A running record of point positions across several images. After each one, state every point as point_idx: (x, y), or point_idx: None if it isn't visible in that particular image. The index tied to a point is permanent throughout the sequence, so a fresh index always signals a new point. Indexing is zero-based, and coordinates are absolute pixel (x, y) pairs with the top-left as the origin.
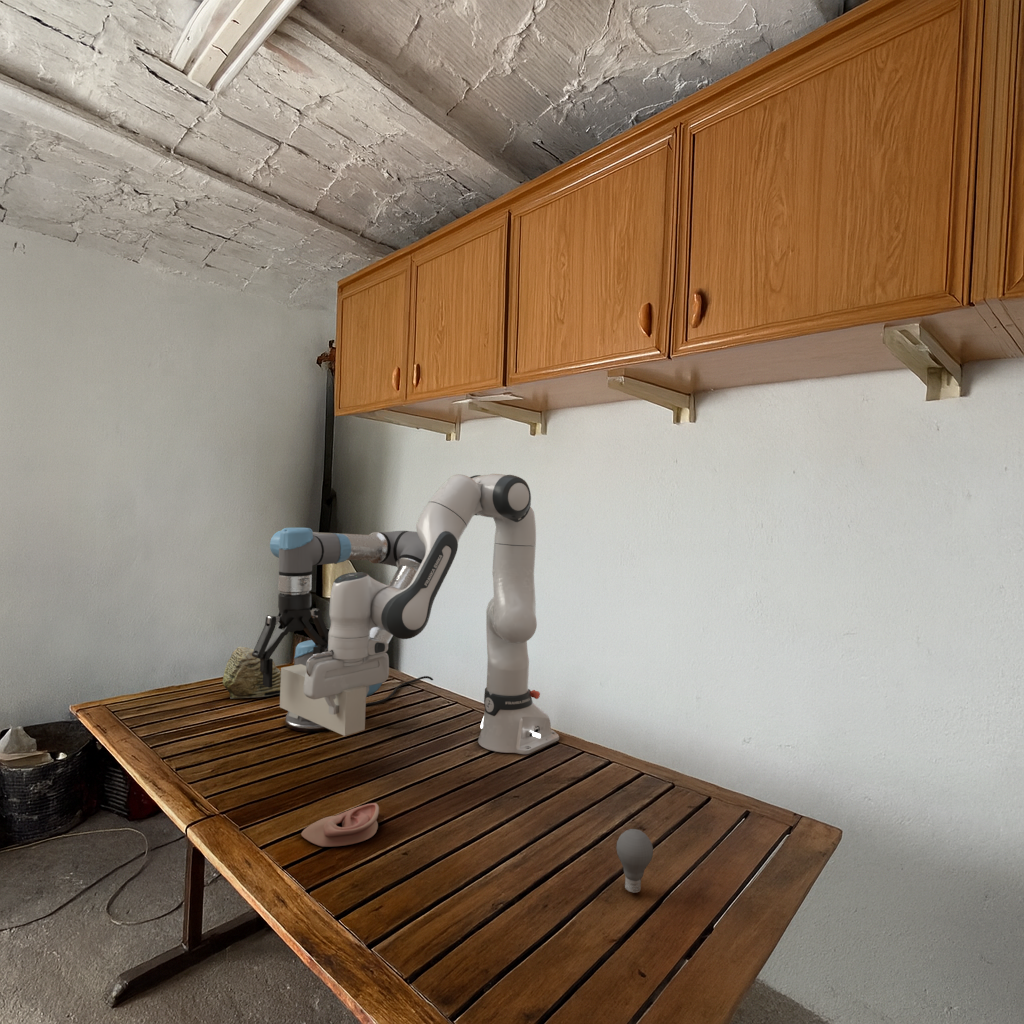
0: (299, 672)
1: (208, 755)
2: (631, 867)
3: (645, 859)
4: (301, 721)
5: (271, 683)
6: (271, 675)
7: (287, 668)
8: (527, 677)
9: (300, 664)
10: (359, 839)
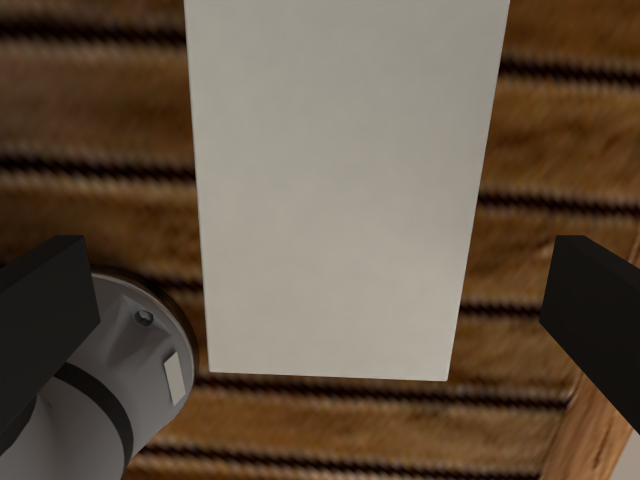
0: (439, 74)
1: (480, 345)
2: None
3: None
4: (169, 334)
5: (581, 247)
6: (633, 279)
7: (418, 322)
8: None
9: (221, 358)
10: None
